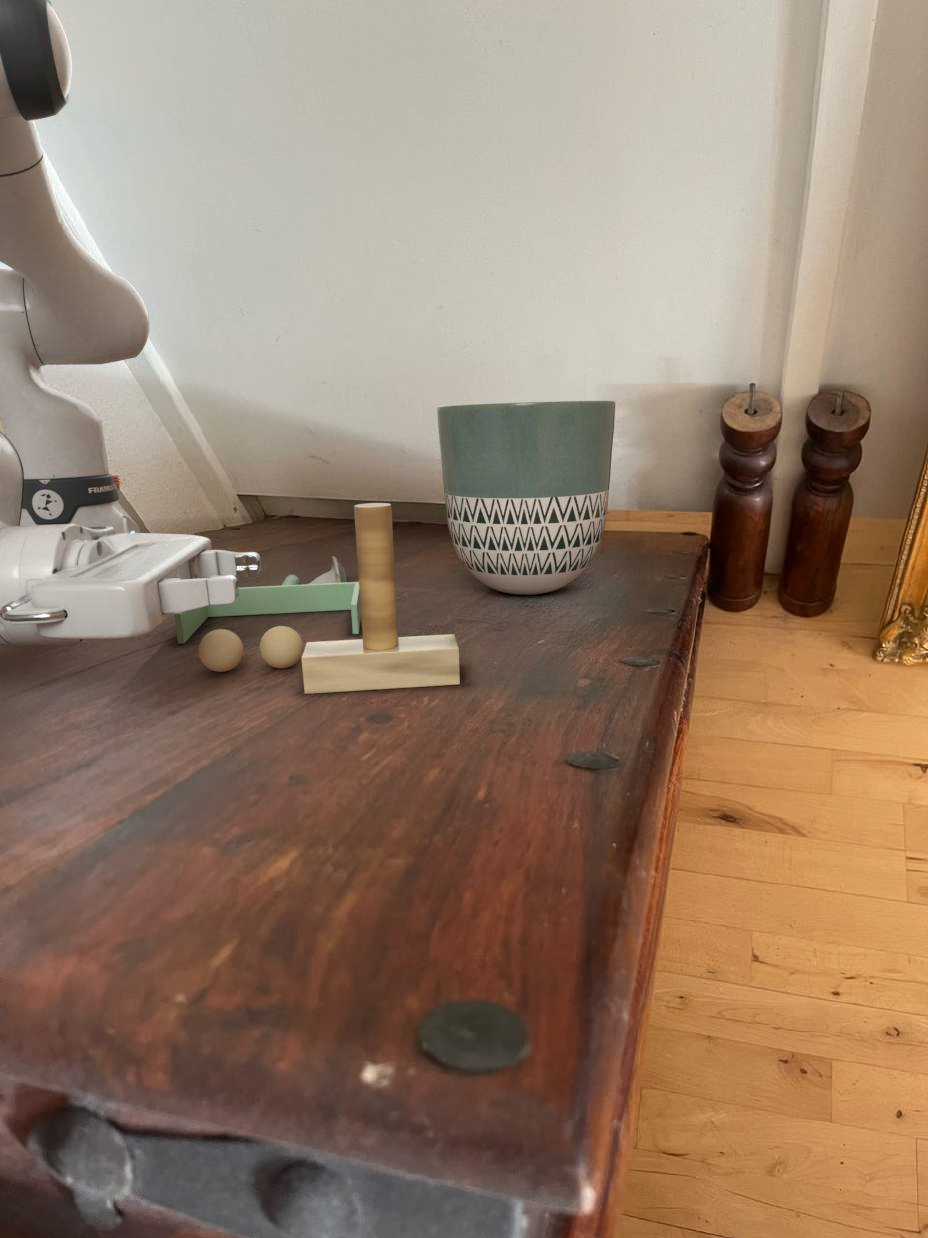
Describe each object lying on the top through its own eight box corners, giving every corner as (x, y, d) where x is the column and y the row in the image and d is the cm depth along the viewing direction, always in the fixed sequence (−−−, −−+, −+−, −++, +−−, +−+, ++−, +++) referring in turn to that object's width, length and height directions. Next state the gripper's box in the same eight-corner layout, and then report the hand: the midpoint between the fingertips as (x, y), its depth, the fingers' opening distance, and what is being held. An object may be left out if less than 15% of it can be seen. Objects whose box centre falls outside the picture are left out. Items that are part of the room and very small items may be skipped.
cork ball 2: (265, 661, 65) (261, 622, 64) (306, 659, 65) (303, 620, 65) (258, 675, 62) (254, 633, 61) (302, 672, 62) (298, 631, 61)
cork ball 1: (206, 665, 65) (201, 625, 64) (248, 662, 65) (244, 623, 64) (196, 679, 61) (191, 637, 60) (241, 676, 62) (236, 634, 61)
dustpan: (221, 597, 90) (218, 573, 89) (364, 590, 92) (362, 566, 91) (177, 644, 71) (173, 613, 70) (358, 634, 73) (356, 604, 72)
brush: (309, 677, 61) (294, 505, 57) (455, 668, 62) (449, 499, 58) (304, 694, 57) (288, 511, 53) (460, 684, 58) (454, 504, 55)
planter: (609, 574, 97) (613, 402, 91) (612, 612, 78) (617, 399, 72) (459, 573, 100) (454, 407, 95) (427, 609, 81) (419, 405, 76)
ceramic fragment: (349, 600, 86) (347, 567, 85) (304, 604, 85) (301, 570, 84) (343, 578, 100) (341, 550, 99) (303, 581, 98) (301, 552, 98)
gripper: (-26, 569, 44) (213, 558, 45) (101, 523, 64) (265, 517, 65) (-6, 670, 46) (224, 657, 47) (112, 595, 65) (272, 587, 67)
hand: (249, 575), depth 56 cm, fingers open, 8 cm apart
